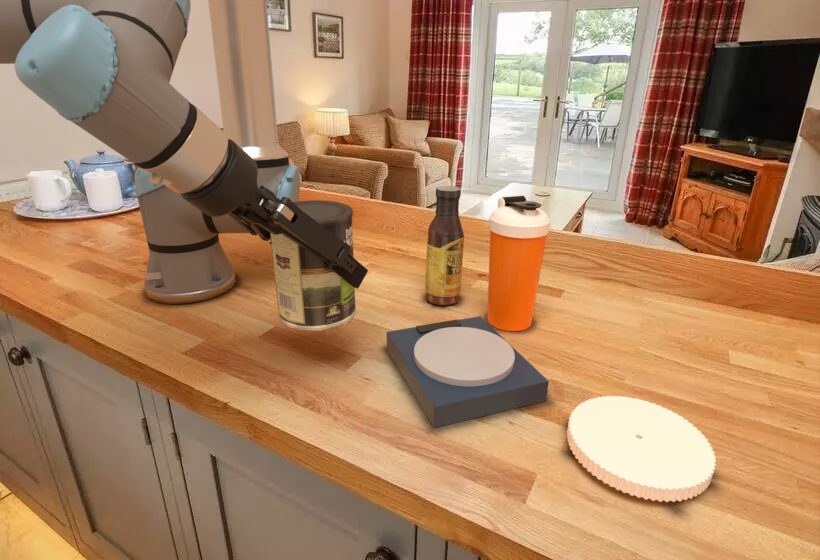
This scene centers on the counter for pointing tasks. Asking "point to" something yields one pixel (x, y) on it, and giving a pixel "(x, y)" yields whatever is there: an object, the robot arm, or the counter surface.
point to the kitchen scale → (464, 370)
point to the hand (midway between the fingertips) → (332, 268)
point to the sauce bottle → (445, 249)
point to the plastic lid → (641, 448)
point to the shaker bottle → (515, 261)
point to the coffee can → (313, 274)
